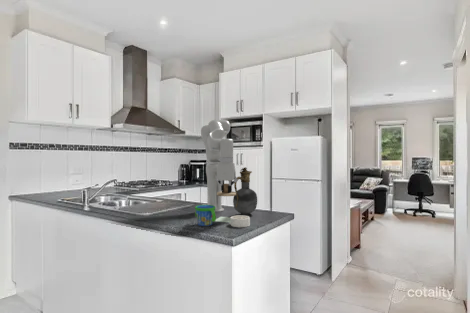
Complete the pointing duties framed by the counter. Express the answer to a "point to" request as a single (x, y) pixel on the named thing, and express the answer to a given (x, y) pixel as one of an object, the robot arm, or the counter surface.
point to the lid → (226, 191)
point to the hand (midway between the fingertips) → (226, 192)
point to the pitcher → (244, 195)
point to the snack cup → (205, 214)
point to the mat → (223, 219)
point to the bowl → (240, 221)
